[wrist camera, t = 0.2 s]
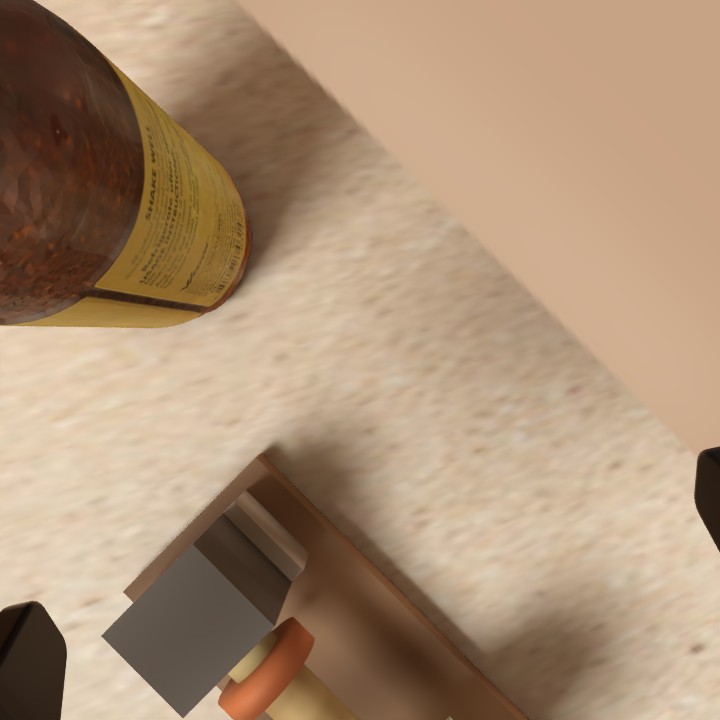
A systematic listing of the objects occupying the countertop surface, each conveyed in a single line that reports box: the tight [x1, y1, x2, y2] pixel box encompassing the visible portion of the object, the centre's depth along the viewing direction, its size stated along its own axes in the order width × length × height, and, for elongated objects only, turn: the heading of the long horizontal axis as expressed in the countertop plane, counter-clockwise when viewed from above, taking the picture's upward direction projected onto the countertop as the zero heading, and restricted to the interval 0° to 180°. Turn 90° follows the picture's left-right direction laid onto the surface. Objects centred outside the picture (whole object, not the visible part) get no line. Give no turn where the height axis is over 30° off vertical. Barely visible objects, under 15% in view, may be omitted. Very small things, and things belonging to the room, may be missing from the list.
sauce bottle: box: [0, 0, 252, 328], centre depth 14 cm, size 7×6×20 cm
